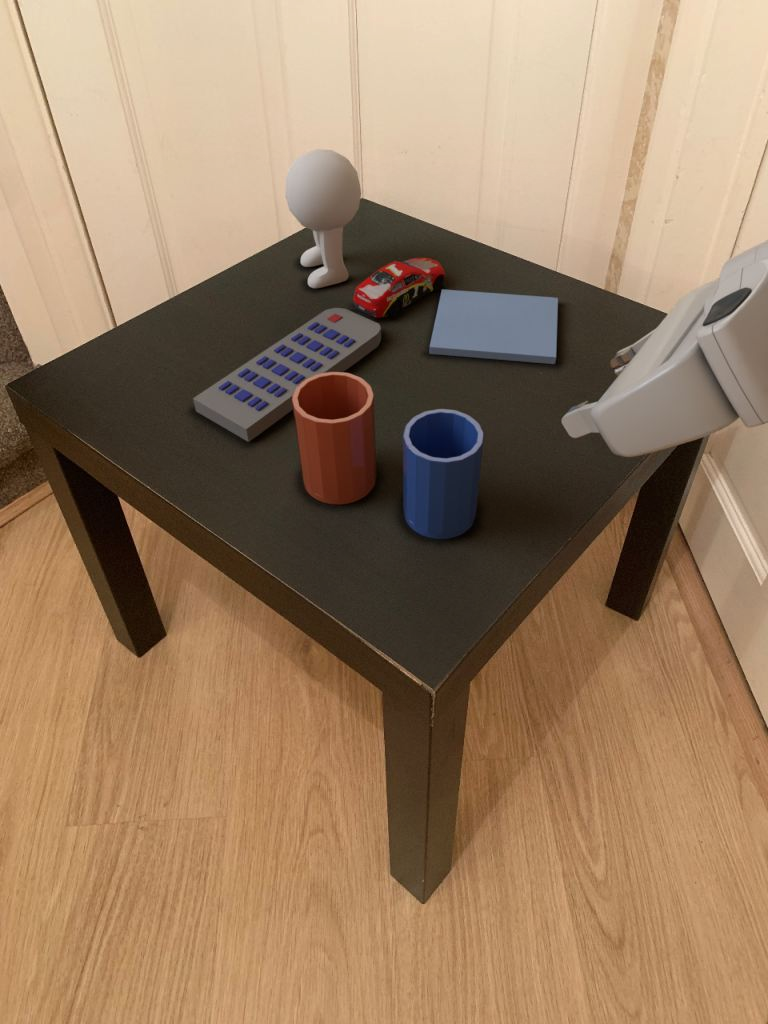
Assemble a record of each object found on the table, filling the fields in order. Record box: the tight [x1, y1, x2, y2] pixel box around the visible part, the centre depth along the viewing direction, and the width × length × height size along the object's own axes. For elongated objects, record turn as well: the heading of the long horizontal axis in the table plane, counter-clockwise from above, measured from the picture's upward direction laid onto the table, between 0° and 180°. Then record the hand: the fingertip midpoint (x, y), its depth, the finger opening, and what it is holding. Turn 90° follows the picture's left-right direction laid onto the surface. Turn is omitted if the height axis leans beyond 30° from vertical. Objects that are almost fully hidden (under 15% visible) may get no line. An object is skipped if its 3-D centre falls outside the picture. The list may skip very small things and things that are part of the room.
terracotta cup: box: [292, 371, 378, 506], centre depth 72 cm, size 7×7×10 cm
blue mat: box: [428, 289, 559, 365], centre depth 92 cm, size 14×12×1 cm
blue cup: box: [402, 408, 485, 540], centre depth 69 cm, size 7×7×10 cm
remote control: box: [192, 307, 382, 443], centre depth 87 cm, size 8×23×2 cm, turn 141°
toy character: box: [285, 148, 362, 289], centre depth 96 cm, size 9×9×15 cm
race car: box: [352, 257, 446, 318], centre depth 96 cm, size 13×5×4 cm, turn 134°
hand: (594, 394), depth 58 cm, fingers open, 8 cm apart
